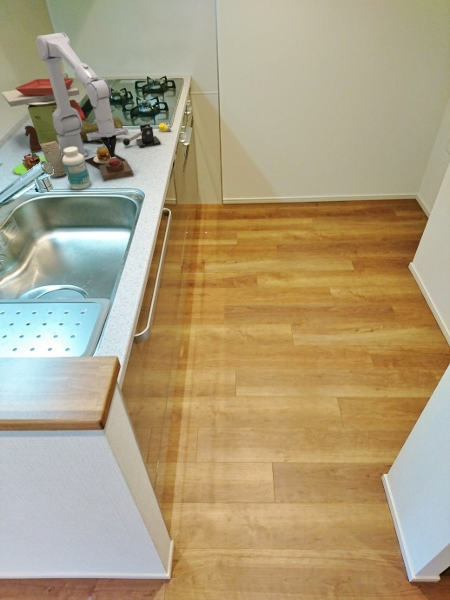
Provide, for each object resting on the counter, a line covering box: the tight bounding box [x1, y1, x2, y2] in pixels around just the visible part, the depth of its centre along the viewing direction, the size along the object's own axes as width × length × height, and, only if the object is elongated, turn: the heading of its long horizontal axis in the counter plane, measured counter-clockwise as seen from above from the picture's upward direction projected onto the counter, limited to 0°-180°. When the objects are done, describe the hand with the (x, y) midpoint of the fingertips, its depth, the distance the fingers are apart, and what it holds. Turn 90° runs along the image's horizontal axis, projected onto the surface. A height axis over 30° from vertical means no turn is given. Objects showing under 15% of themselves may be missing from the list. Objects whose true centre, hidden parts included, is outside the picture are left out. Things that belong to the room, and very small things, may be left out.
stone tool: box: [80, 116, 124, 142], centre depth 177 cm, size 20×9×10 cm
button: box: [109, 158, 119, 166], centre depth 151 cm, size 4×4×2 cm
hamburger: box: [84, 146, 126, 171], centre depth 161 cm, size 12×12×6 cm
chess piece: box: [24, 125, 42, 153], centre depth 170 cm, size 5×5×10 cm
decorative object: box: [69, 99, 86, 121], centre depth 184 cm, size 14×4×15 cm
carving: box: [40, 141, 66, 177], centre depth 150 cm, size 6×8×12 cm
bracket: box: [135, 123, 162, 149], centre depth 174 cm, size 9×8×7 cm
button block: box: [98, 160, 134, 182], centre depth 152 cm, size 11×10×4 cm
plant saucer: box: [14, 77, 75, 95], centre depth 169 cm, size 18×18×3 cm
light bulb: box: [158, 122, 172, 132], centre depth 186 cm, size 3×6×4 cm
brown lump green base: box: [13, 152, 46, 176], centre depth 157 cm, size 15×15×6 cm
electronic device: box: [0, 85, 81, 107], centre depth 173 cm, size 29×20×2 cm
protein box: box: [27, 104, 60, 145], centre depth 177 cm, size 10×15×16 cm
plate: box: [24, 99, 56, 106], centre depth 173 cm, size 21×21×2 cm
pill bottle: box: [62, 147, 92, 190], centre depth 142 cm, size 8×7×14 cm
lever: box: [122, 126, 148, 147], centre depth 172 cm, size 13×3×3 cm, turn 113°
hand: (112, 156), depth 149 cm, fingers closed
